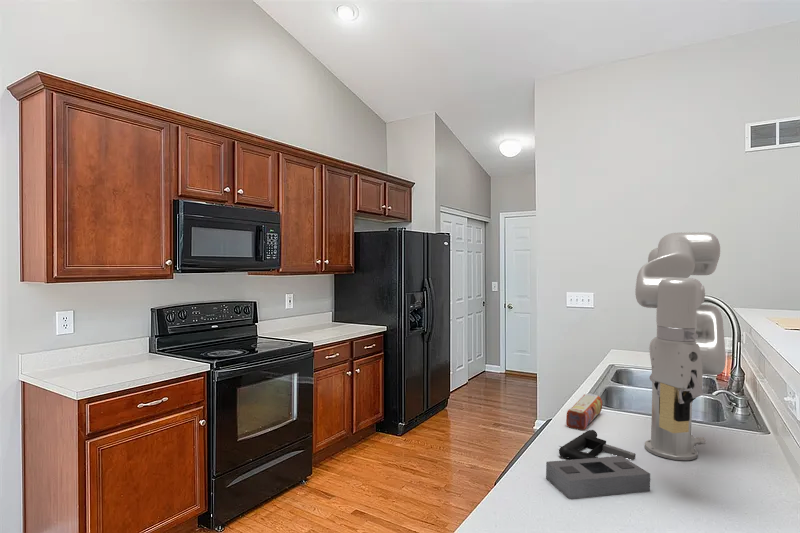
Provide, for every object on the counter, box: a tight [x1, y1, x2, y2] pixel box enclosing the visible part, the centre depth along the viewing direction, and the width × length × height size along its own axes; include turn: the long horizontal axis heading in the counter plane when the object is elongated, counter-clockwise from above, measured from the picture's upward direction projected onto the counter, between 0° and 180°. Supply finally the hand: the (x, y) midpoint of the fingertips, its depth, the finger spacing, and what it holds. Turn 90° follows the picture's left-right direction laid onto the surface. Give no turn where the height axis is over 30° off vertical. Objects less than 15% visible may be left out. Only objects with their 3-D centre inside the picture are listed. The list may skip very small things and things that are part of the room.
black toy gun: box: [557, 429, 637, 461], centre depth 129 cm, size 3×20×16 cm
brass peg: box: [659, 383, 689, 433], centre depth 107 cm, size 4×4×10 cm
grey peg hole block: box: [545, 455, 651, 500], centre depth 111 cm, size 20×10×4 cm, turn 102°
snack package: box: [565, 393, 603, 431], centre depth 157 cm, size 21×7×7 cm, turn 145°
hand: (673, 416), depth 107 cm, fingers closed on brass peg, 4 cm apart
